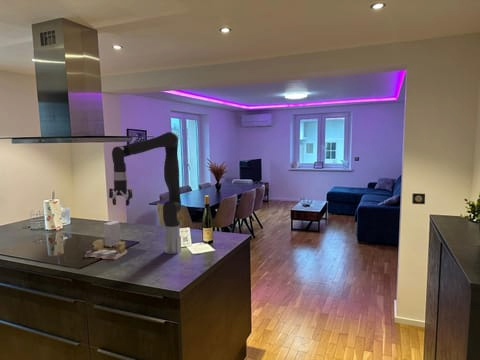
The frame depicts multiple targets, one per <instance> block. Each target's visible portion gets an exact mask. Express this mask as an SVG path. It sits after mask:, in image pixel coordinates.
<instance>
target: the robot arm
mask: <svg viewBox="0 0 480 360" xmlns="http://www.w3.org/2000/svg"><path fill="white" fill-rule="evenodd" d="M178 147H179V137H178V135H177V134H176V132H175V133H174V132H172V131H167V132H165V133H163V134H161V135H158V136H155V137H152V138H148V139H144V140H140V141H139V140H138V141H135V142H132V143H129V144H124V145H120V146H117V145H116V146H114V147H113V148H112V150H111V158H112V162H113V187H110V188H108V189H109V191H108V197H109V199H111V200H112V205H113V206H116V205H117V199H116V198H117V197H119V196H121V197H123V198H124V199H125V206H127V207H128V206H129V205H130V199H133V189H132V188H128V176H127V175H128V174H127V165H126V162H125V157H126V158H127V157H129V156H133V155H134V156H135V155H139V154H142V153H145V152H149V151H151V150H156V149H160V148H164V149H165V150H164V151H165V157H164V158H165V159H164V165H163V176H164V177H163V178H164V182H165V185H166V187H167V189H168V200H167V201H165V202H164V203H163V205H162V206H163V207H162V219H163V223H164V253H165V254H168V255H175V254H179V253H180V252H181V250H182V236H181V233H180V231H181V230H180V227H181V226H180V219H178V213H179V212H180V211H181V210H182V201H181V193H180V165H179V157H178Z"/></svg>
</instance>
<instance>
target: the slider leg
mask: <svg viewBox="0 0 480 360" xmlns="http://www.w3.org/2000/svg"><path fill="white" fill-rule="evenodd" d="M91 247H92V248H93V250H94V251H101V250H103V248H104V239H97V240H95V241H93V243H92V246H91Z"/></svg>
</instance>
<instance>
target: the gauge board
mask: <svg viewBox="0 0 480 360" xmlns="http://www.w3.org/2000/svg"><path fill="white" fill-rule="evenodd" d="M127 253H128V249H126V241H121V242H119V243H117V244H116V246H114V248H110V247H109V248H107V247H106V248H105V247H103V250H101V251H94V249H93V250H89V251H88V250H87V251H86V252H85V254H84V258H88V257H95V258H94V259H100V258H102V260H103V259H104V260H117V259H119V258H121V257H122V256H124V255H126V254H127Z"/></svg>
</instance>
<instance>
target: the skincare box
mask: <svg viewBox="0 0 480 360" xmlns="http://www.w3.org/2000/svg"><path fill="white" fill-rule="evenodd" d="M103 231H104V234H103V235H104V246H105V247H108V246H109V248H113V247H115V245H116V244H117V243H119V242H122V241H121V222H120V221H117V220H112V221H108V222H105V223H103ZM112 246H113V247H112Z"/></svg>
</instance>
